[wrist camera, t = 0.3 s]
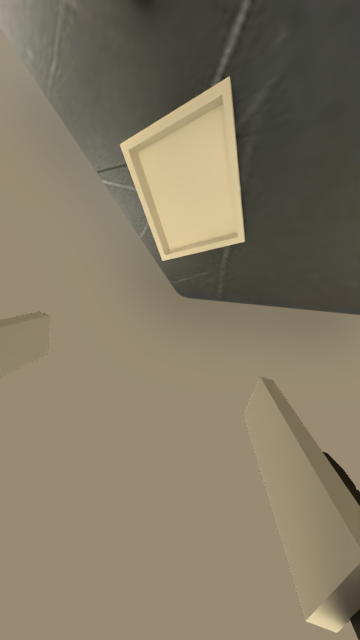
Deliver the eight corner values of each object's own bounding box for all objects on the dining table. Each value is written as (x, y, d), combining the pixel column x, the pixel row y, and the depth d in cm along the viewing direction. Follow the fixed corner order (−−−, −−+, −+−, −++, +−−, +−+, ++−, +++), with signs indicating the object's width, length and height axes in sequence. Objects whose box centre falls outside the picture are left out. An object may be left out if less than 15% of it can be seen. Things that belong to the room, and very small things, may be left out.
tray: (132, 147, 29) (119, 144, 26) (231, 88, 22) (229, 76, 19) (168, 254, 39) (162, 260, 36) (244, 235, 32) (244, 241, 29)
